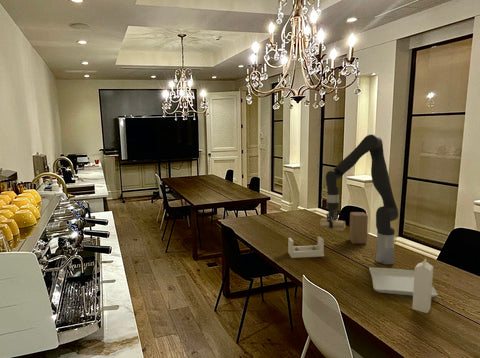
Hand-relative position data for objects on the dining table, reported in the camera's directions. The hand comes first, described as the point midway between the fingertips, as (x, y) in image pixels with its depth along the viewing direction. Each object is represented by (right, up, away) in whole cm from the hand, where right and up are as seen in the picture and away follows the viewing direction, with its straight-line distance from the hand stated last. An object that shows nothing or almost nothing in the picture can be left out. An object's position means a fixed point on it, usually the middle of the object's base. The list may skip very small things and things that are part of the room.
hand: (332, 227), depth 222 cm
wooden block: (+21, -12, +14) cm, 28 cm away
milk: (+19, -25, -73) cm, 80 cm away
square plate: (+20, -22, -51) cm, 59 cm away
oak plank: (0, -1, 0) cm, 1 cm away
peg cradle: (-19, -16, -7) cm, 26 cm away
